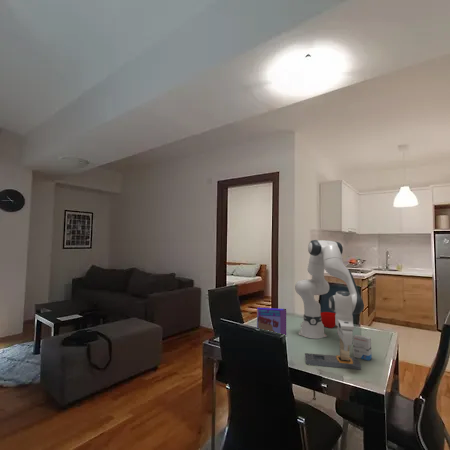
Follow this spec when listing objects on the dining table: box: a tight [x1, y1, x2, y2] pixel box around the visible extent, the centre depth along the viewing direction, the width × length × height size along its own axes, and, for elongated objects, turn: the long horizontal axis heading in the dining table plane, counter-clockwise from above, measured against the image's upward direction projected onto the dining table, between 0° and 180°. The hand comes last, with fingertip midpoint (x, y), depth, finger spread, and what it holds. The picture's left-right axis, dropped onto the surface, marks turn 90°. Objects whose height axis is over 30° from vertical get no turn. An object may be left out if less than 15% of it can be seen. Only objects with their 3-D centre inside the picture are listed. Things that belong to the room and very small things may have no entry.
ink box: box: [352, 334, 373, 362], centre depth 167 cm, size 9×5×12 cm, turn 45°
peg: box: [339, 337, 350, 360], centre depth 157 cm, size 4×4×10 cm
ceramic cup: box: [321, 311, 336, 329], centre depth 231 cm, size 13×17×10 cm
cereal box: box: [256, 307, 287, 336], centre depth 179 cm, size 17×5×24 cm, turn 82°
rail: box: [304, 353, 362, 371], centre depth 158 cm, size 10×27×3 cm, turn 79°
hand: (344, 348), depth 157 cm, fingers closed on peg, 4 cm apart
